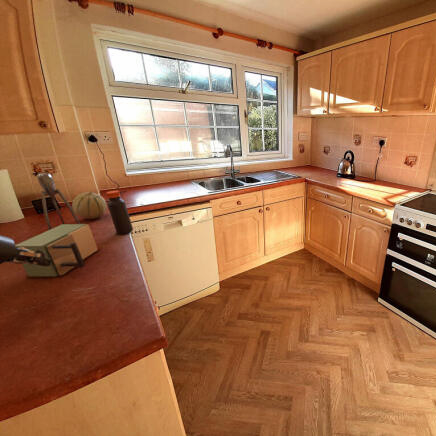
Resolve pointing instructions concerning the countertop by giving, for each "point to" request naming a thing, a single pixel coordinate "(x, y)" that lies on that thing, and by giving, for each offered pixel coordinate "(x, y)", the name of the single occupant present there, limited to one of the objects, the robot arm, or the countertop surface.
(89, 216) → the cantaloupe
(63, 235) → the cabinet
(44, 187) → the juicer
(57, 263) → the brown panel dark handle
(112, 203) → the bottle
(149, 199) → the countertop surface
